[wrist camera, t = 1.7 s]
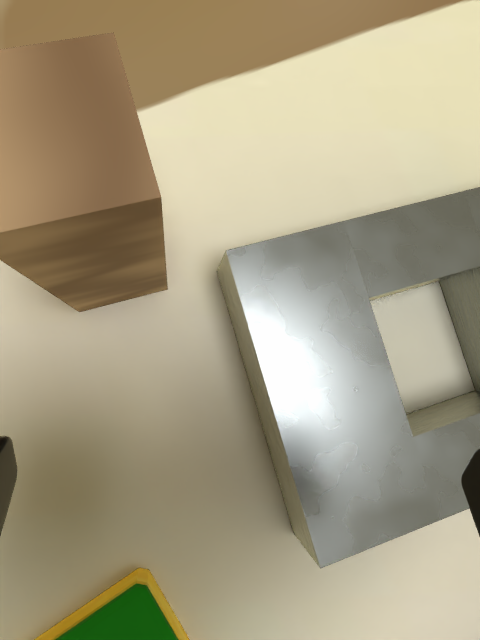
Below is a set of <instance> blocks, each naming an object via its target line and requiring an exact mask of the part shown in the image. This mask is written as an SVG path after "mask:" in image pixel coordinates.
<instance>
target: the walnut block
mask: <svg viewBox="0 0 480 640" xmlns="http://www.w3.org/2000/svg"><path fill="white" fill-rule="evenodd" d="M0 260H1V261H3V262H4V263H6V264H7V265H9V266H10V267H12V268H13V269H15V270H16V271H18V272H19V273H21V274H23V275H24V276H26V277H27V278H29V279H30V280H32V281H33V282H35V283H36V284H38V285H39V286H41V287H42V288H44V289H45V290H47V291H48V292H50V293H51V294H53V295H54V296H56V297H57V298H59V299H61V300H62V301H64V302H65V303H67V304H68V305H70V306H71V307H73V308H74V309H76V310H77V311H79V312H82V311H86V310H89V309H93V308H97V307H101V306H105V305H109V304H113V303H116V302H120V301H124V300H128V299H132V298H136V297H140V296H143V295H147V294H151V293H155V292H159V291H163V290H166V289H167V275H166V261H165V246H164V232H163V217H162V202H161V195H160V191H159V188H158V184H157V181H156V178H155V174H154V171H153V167H152V164H151V160H150V157H149V153H148V150H147V146H146V143H145V139H144V136H143V132H142V129H141V125H140V122H139V119H138V115H137V112H136V108H135V105H134V101H133V98H132V94H131V91H130V87H129V84H128V80H127V77H126V73H125V70H124V67H123V63H122V60H121V56H120V53H119V49H118V46H117V42H116V39H115V35H114V33H107V34H100V35H93V36H87V37H80V38H73V39H67V40H60V41H53V42H46V43H40V44H33V45H26V46H20V47H13V48H6V49H0Z"/></svg>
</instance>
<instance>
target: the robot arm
mask: <svg viewBox="0 0 480 640" xmlns="http://www.w3.org/2000/svg"><path fill="white" fill-rule="evenodd" d="M16 478H17V465H16V459H15V454H14V449H13V444H12V440H11V439H10V438H9V437H7V436H0V536H1V532H2V529H3V525H4V522H5V518H6V515H7V511H8V507H9V504H10V500H11V497H12V493H13V490H14V486H15V482H16ZM461 484H462V488H463V491H464V494H465V496H466V499H467V502H468V505H469V508H470V511H471V513H472V516H473V519H474V522H475V525H476V528H477V530H478V533H479V536H480V449H478V450H476V451H475V453H474V454H473V456H472V458H471V459H470V461H469V463H468V464H467V466H466V468H465V470H464V471H463V473H462V477H461Z"/></svg>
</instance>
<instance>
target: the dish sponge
mask: <svg viewBox="0 0 480 640" xmlns="http://www.w3.org/2000/svg"><path fill="white" fill-rule="evenodd" d="M34 640H189V638H188V636H187V634H186V633H185V631H184V629H183V628H182V626H181V624H180V622H179V621H178V619H177V617H176V615H175V614H174V612H173V610H172V609H171V607H170V605H169V603H168V602H167V600H166V598H165V597H164V595H163V593H162V591H161V590H160V588H159V586H158V584H157V583H156V581H155V579H154V578H153V576H152V574H151V572H150V571H149V570H148V569H143V568H138V569H136V570H135V571H134V572H132V573H131V574H129V575H128V576H126V577H125V578H123V579H122V580H120V581H119V582H118V583H116V584H115V585H113V586H112V587H110V588H109V589H107V590H106V591H104V592H103V593H101V594H100V595H99V596H97V597H96V598H94V599H93V600H91V601H90V602H88V603H87V604H85V605H84V606H82V607H81V608H80V609H78V610H77V611H75V612H74V613H72V614H71V615H69V616H68V617H66V618H65V619H63V620H62V621H61V622H59V623H58V624H56V625H55V626H53V627H52V628H50V629H49V630H47V631H46V632H44V633H43V634H42V635H40V636H39V637H37V638H36V639H34Z"/></svg>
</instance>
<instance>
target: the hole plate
mask: <svg viewBox="0 0 480 640" xmlns="http://www.w3.org/2000/svg"><path fill="white" fill-rule="evenodd" d="M217 274H218V277H219V280H220V284H221V287H222V291H223V294H224V297H225V301H226V304H227V308H228V311H229V314H230V318H231V321H232V325H233V328H234V331H235V335H236V338H237V342H238V345H239V348H240V352H241V355H242V359H243V362H244V365H245V369H246V372H247V376H248V379H249V382H250V386H251V389H252V393H253V396H254V399H255V403H256V406H257V410H258V413H259V416H260V420H261V423H262V427H263V430H264V433H265V437H266V440H267V444H268V447H269V450H270V454H271V457H272V460H273V464H274V467H275V471H276V474H277V477H278V481H279V484H280V488H281V491H282V494H283V498H284V501H285V505H286V508H287V511H288V515H289V518H290V522H291V525H292V528H293V532H294V534H295V536H296V537H297V538H298V540H299V541H300V542H301V544H302V545H303V546H304V548H305V549H306V550H307V551H308V553H309V554H310V555H311V557H312V558H313V559H314V561H315V562H316V563H317V565H318V566H319V567H320V568H323V567H325V566H328V565H330V564H333V563H335V562H338V561H340V560H343V559H345V558H347V557H350V556H352V555H355V554H357V553H360V552H362V551H365V550H367V549H370V548H372V547H375V546H377V545H380V544H382V543H385V542H387V541H390V540H392V539H395V538H397V537H400V536H402V535H404V534H407V533H409V532H412V531H414V530H417V529H419V528H422V527H424V526H427V525H429V524H432V523H434V522H437V521H439V520H442V519H444V518H447V517H449V516H452V515H454V514H457V513H459V512H461V511H464V510H466V509H469V505H468V502H467V499H466V496H465V494H464V491H463V488H462V484H461V477H462V473H463V471H464V470H465V468H466V466H467V464H468V463H469V461H470V459H471V458H472V456H473V454H474V453H475V451H476V450H478V449H480V187H479V188H475V189H471V190H467V191H463V192H459V193H455V194H450V195H446V196H442V197H438V198H434V199H430V200H426V201H422V202H418V203H414V204H410V205H406V206H402V207H398V208H394V209H390V210H386V211H382V212H378V213H374V214H370V215H366V216H362V217H358V218H354V219H350V220H346V221H342V222H338V223H334V224H330V225H326V226H322V227H318V228H314V229H310V230H306V231H302V232H298V233H294V234H290V235H286V236H282V237H278V238H274V239H270V240H266V241H262V242H258V243H254V244H250V245H246V246H242V247H238V248H234V249H230V250H226V251H225V254H224V256H223V258H222V261H221V263H220V265H219V268H218V270H217ZM437 281H439V282H440V285H441V288H442V291H443V294H444V297H445V300H446V303H447V306H448V309H449V312H450V315H451V318H452V321H453V324H454V327H455V330H456V333H457V336H458V339H459V342H460V345H461V348H462V351H463V354H464V357H465V360H466V363H467V366H468V369H469V372H470V375H471V378H472V381H473V384H474V387H475V390H476V391H473V392H470V393H467V394H464V395H461V396H458V397H456V398H453V399H450V400H447V401H444V402H441V403H438V404H435V405H433V406H430V407H427V408H424V409H421V410H418V411H415V412H412V413H409V414H407V415H406V413H405V410H404V406H403V403H402V400H401V397H400V394H399V391H398V388H397V385H396V382H395V378H394V375H393V372H392V369H391V366H390V363H389V360H388V357H387V353H386V350H385V347H384V344H383V341H382V338H381V335H380V332H379V328H378V325H377V322H376V319H375V316H374V313H373V310H372V307H371V303H370V301H371V300H375V299H378V298H382V297H385V296H389V295H392V294H395V293H399V292H402V291H406V290H409V289H413V288H416V287H420V286H423V285H427V284H430V283H433V282H437Z"/></svg>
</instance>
